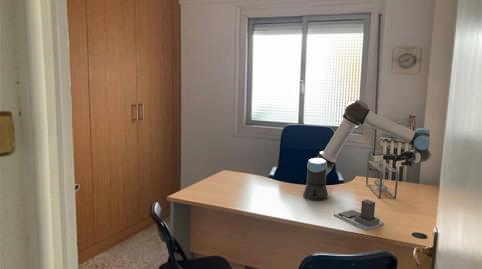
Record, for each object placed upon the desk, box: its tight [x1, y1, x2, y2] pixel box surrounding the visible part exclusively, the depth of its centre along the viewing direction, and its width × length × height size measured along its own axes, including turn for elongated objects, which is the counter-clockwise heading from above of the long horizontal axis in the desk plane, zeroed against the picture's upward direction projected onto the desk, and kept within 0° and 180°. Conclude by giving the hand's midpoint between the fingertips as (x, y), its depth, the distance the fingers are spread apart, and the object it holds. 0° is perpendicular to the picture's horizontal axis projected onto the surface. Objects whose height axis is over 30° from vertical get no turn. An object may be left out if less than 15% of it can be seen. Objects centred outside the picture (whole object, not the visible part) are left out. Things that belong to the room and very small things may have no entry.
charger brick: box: [360, 199, 376, 221], centre depth 188 cm, size 5×4×11 cm
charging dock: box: [333, 209, 385, 231], centre depth 193 cm, size 21×14×4 cm, turn 32°
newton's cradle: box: [365, 160, 399, 199], centre depth 240 cm, size 30×10×18 cm, turn 177°
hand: (385, 161), depth 196 cm, fingers open, 13 cm apart
